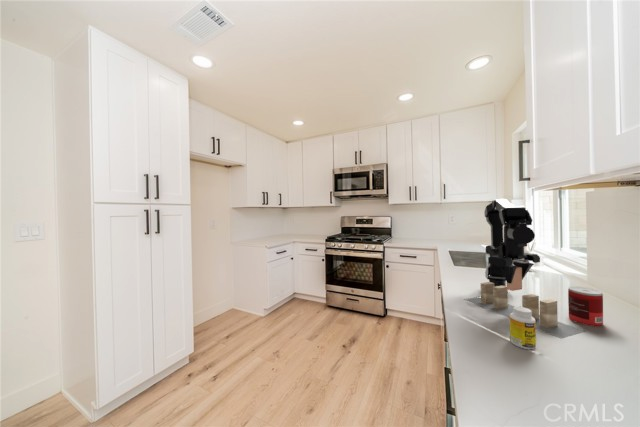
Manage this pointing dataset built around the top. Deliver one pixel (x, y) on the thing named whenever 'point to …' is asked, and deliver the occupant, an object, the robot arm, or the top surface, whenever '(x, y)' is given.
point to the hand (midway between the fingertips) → (514, 282)
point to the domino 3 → (516, 280)
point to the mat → (557, 331)
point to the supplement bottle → (522, 328)
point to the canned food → (585, 306)
